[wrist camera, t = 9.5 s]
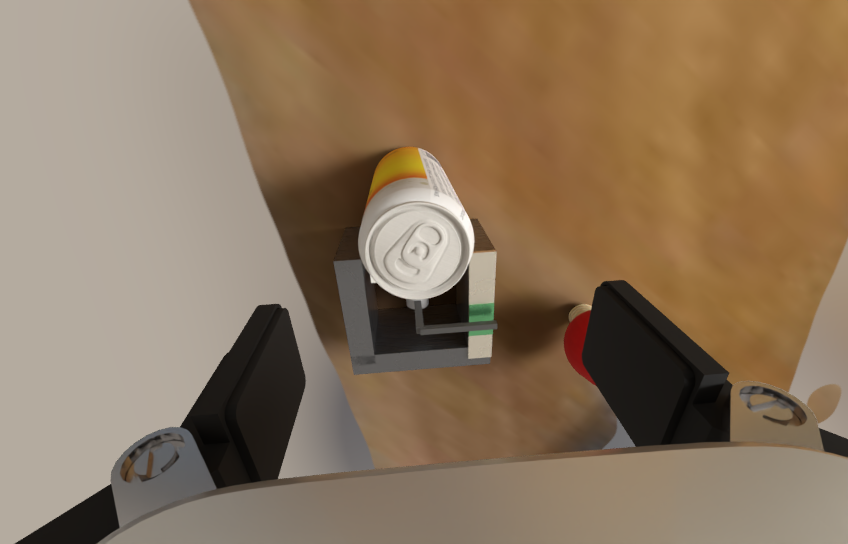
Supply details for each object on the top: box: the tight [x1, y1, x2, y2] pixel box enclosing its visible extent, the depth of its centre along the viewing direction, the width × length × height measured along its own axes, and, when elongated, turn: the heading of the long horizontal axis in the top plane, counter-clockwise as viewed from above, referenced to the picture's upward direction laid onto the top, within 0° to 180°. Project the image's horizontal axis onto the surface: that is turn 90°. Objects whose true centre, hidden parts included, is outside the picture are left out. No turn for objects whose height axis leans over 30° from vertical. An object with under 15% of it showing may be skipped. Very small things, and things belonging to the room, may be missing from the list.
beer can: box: [358, 147, 474, 300], centre depth 25 cm, size 6×6×15 cm
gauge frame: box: [333, 219, 496, 375], centre depth 32 cm, size 11×12×7 cm
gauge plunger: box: [370, 275, 497, 335], centre depth 31 cm, size 5×10×8 cm, turn 93°
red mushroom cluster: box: [564, 304, 596, 385], centre depth 34 cm, size 9×7×10 cm
